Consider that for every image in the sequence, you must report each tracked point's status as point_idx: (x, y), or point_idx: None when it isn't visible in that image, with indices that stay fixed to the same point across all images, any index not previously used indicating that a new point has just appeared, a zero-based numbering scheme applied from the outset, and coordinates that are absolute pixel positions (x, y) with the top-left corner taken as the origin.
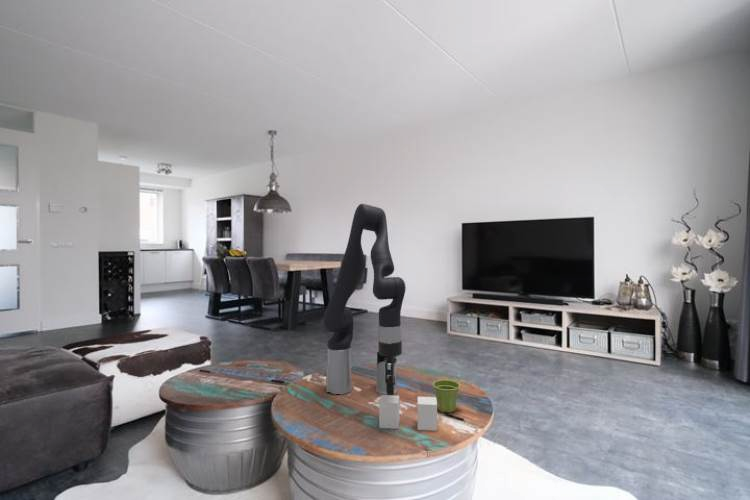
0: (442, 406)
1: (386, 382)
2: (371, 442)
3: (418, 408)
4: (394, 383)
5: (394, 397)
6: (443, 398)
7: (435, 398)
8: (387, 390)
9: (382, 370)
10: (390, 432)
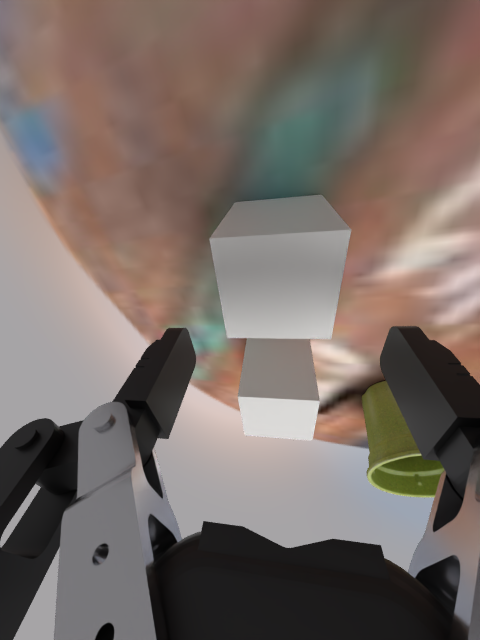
0: (372, 401)
1: (28, 434)
2: (116, 191)
3: (240, 384)
4: (384, 369)
5: (304, 318)
6: (374, 429)
7: (300, 438)
8: (160, 351)
9: None
10: (210, 252)
